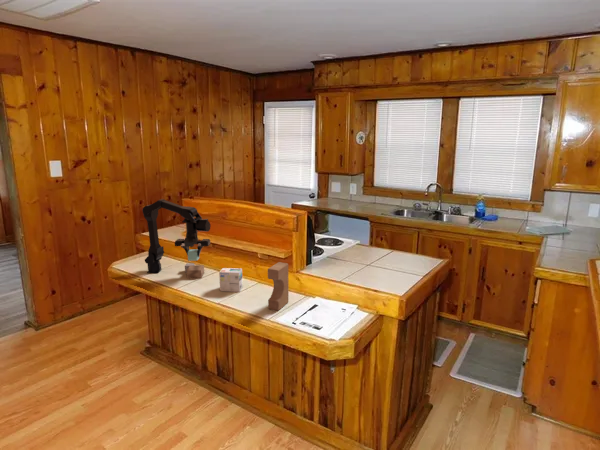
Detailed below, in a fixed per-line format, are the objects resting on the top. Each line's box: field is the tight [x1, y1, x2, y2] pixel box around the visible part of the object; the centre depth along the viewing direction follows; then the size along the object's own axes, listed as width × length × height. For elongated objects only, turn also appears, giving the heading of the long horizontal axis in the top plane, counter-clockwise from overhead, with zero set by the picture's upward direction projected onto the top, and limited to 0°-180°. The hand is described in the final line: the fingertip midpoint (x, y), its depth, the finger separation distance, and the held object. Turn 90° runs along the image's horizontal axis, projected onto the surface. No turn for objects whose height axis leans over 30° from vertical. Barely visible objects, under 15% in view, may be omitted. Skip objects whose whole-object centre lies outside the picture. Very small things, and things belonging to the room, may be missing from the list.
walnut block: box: [186, 264, 205, 279], centre depth 228 cm, size 8×8×5 cm
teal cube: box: [187, 248, 200, 262], centre depth 226 cm, size 5×5×5 cm
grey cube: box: [184, 262, 195, 274], centre depth 235 cm, size 4×4×4 cm
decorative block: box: [267, 261, 289, 312], centre depth 189 cm, size 11×6×20 cm, turn 154°
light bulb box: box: [219, 267, 244, 293], centre depth 209 cm, size 11×7×11 cm, turn 84°
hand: (193, 257), depth 226 cm, fingers closed on teal cube, 5 cm apart
